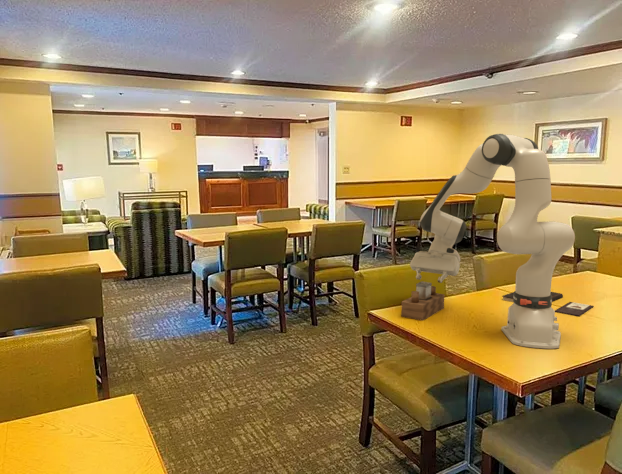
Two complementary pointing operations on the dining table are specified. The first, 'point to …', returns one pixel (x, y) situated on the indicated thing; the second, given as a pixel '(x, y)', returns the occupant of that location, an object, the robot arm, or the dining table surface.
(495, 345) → the dining table surface
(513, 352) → the dining table surface
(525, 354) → the dining table surface
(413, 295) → the brown block with knob
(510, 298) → the hardcover book
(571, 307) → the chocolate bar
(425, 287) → the grey upright block
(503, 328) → the robot arm
